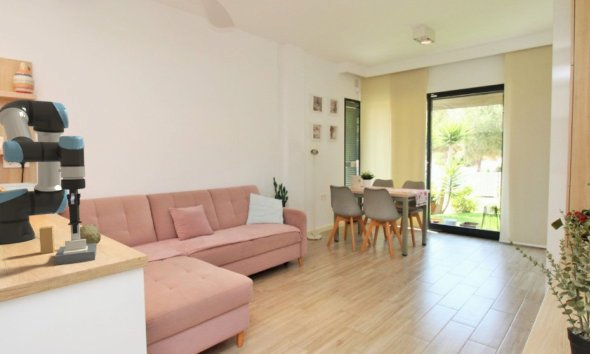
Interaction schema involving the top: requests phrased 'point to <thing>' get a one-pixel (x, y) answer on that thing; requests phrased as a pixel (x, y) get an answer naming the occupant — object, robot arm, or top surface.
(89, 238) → the coral
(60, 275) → the top surface
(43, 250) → the tall wooden block
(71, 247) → the white stepped block
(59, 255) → the socket board
